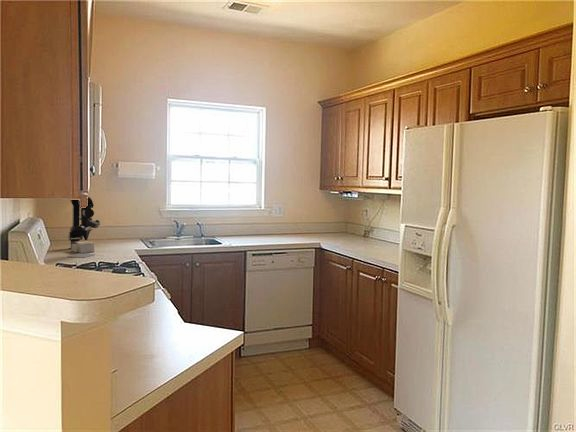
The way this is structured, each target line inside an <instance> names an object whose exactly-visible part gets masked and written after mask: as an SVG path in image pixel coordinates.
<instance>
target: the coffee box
mask: <svg viewBox="0 0 576 432" xmlns="http://www.w3.org/2000/svg"><path fill="white" fill-rule="evenodd" d="M70 248H71V249H70V251H72V252H75V253H77V254H90V253H94V252H95V242H91V241H88V240H80V241H75V242H71V241H70Z"/></svg>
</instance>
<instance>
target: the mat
mask: <svg viewBox="0 0 576 432" xmlns="http://www.w3.org/2000/svg"><path fill="white" fill-rule="evenodd" d="M95 255H96V254H95V253H75V254H72V255H68V256H67V258H74V259H75V258H78V259H79V258H83V259H85V258H89V257H93V256H95Z"/></svg>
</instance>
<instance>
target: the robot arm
mask: <svg viewBox="0 0 576 432" xmlns="http://www.w3.org/2000/svg"><path fill="white" fill-rule="evenodd" d="M69 202H70V204H71V205H72V220H71V221H72V222H71V224H72V225H71V227H70V228H69V232H68V235H67V236H68V237H67V239H68V241H70V243H71V242H75V241H83V239H84V241H88V239H89V235H90V234H91V233H90V232H92V231H94V230H93V229H98V228H99V226H100V225H101V224H100V223H101V221H100V220H99V219H96V220H93V216H94V215H95V211H94V210H93V208H94V206H95V205H94V201H93V200H92V198H91V197H90V196H88V206H87V207H86V208H81V207H80V201H79V200H70V199H69ZM68 249H69V250H71V247H69V248H68Z"/></svg>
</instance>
